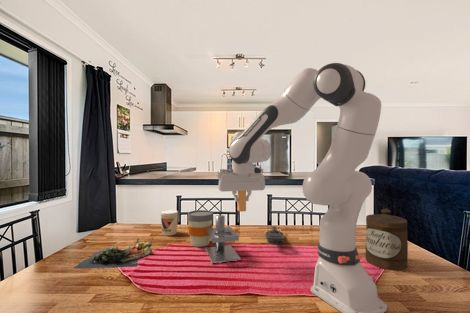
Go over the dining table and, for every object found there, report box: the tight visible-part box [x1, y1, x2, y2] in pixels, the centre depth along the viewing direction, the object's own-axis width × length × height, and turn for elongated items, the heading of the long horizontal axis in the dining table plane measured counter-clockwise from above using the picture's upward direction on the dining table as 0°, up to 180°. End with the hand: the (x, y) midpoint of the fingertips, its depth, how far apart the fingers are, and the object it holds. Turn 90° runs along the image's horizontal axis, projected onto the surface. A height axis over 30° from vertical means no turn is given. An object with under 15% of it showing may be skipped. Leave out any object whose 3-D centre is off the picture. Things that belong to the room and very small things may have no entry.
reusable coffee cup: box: [187, 209, 214, 247], centre depth 127 cm, size 13×13×15 cm
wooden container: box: [365, 207, 409, 271], centre depth 106 cm, size 15×15×22 cm
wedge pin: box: [236, 191, 247, 213], centre depth 111 cm, size 3×3×10 cm
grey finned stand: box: [204, 214, 242, 264], centre depth 112 cm, size 16×12×16 cm
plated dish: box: [73, 237, 154, 269], centre depth 111 cm, size 35×28×7 cm
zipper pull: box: [265, 225, 286, 245], centre depth 128 cm, size 9×7×25 cm
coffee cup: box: [160, 209, 179, 237], centre depth 142 cm, size 9×9×12 cm
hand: (241, 201), depth 111 cm, fingers closed on wedge pin, 3 cm apart
